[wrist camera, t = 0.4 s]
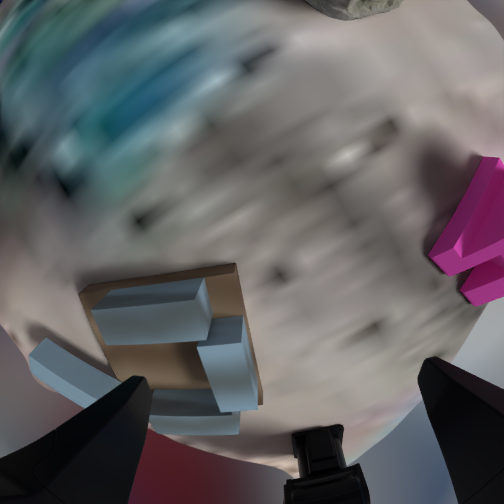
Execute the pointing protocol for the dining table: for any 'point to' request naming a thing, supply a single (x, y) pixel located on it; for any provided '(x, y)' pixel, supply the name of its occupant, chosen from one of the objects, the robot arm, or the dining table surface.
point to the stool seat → (181, 346)
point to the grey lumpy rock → (353, 7)
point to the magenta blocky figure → (477, 236)
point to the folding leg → (69, 374)
